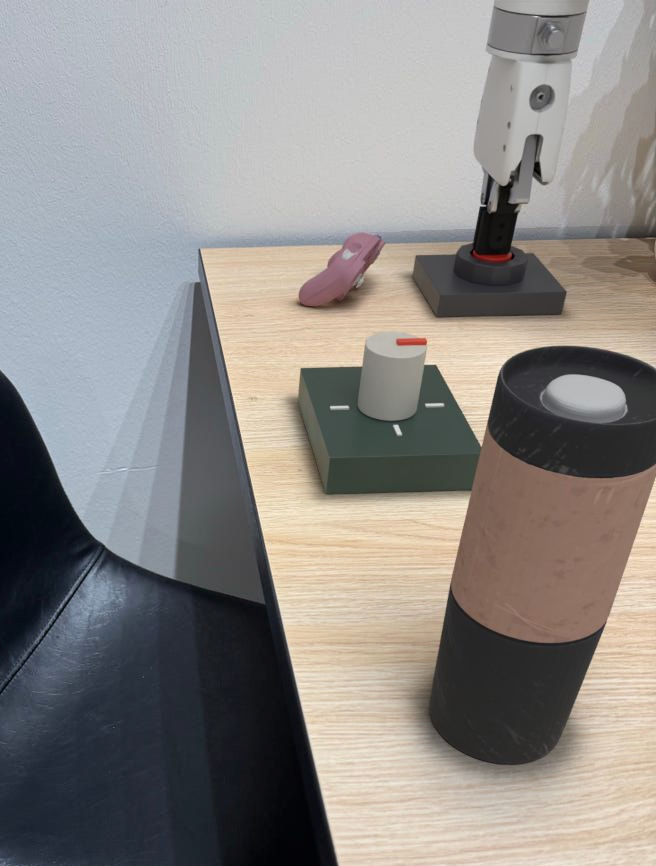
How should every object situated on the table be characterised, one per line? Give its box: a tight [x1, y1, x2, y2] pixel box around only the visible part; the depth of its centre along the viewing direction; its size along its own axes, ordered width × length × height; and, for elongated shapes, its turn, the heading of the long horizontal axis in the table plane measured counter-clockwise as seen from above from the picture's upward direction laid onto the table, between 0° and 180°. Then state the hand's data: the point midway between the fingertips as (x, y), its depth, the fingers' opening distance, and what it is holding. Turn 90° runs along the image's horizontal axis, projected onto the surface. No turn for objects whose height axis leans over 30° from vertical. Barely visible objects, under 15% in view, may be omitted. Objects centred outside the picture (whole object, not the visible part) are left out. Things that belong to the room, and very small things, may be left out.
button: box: [472, 250, 512, 262], centre depth 100 cm, size 4×4×2 cm
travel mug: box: [429, 345, 656, 765], centre depth 51 cm, size 8×8×20 cm
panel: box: [297, 364, 482, 495], centre depth 79 cm, size 14×11×3 cm
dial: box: [358, 331, 428, 421], centre depth 76 cm, size 4×4×5 cm
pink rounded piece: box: [298, 228, 386, 307], centre depth 100 cm, size 10×5×7 cm, turn 154°
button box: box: [412, 242, 568, 318], centre depth 100 cm, size 12×10×4 cm
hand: (490, 251), depth 99 cm, fingers closed
